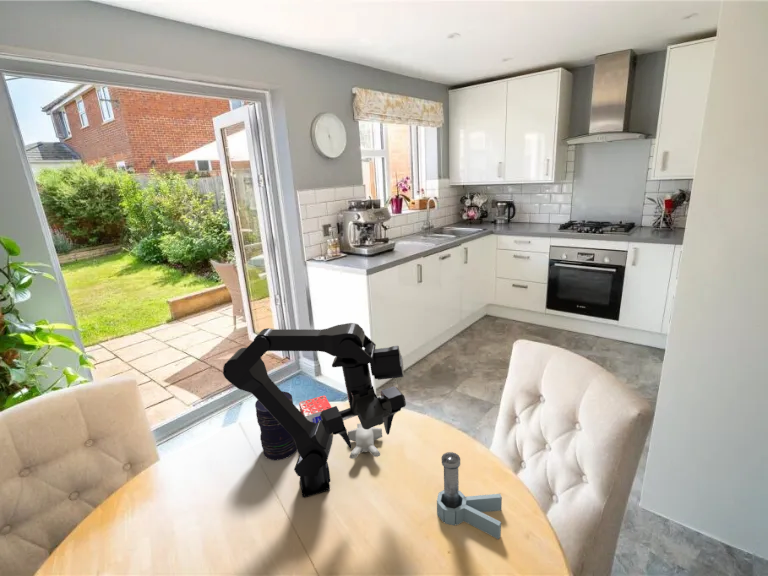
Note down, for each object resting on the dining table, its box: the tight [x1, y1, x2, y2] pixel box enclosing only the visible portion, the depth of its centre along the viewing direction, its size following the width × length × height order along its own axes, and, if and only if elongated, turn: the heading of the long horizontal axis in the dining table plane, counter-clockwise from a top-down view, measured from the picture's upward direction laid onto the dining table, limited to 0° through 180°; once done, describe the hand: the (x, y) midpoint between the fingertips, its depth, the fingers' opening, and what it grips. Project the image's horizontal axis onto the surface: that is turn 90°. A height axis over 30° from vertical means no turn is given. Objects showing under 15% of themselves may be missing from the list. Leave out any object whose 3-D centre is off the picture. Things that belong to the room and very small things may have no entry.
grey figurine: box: [347, 423, 383, 460], centre depth 104 cm, size 10×5×15 cm
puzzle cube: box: [298, 395, 333, 423], centre depth 113 cm, size 8×8×8 cm
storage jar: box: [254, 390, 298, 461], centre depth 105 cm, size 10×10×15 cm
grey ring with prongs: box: [436, 489, 503, 541], centre depth 81 cm, size 13×8×4 cm, turn 72°
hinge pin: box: [441, 451, 461, 509], centre depth 81 cm, size 4×4×14 cm
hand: (369, 440), depth 89 cm, fingers open, 9 cm apart
